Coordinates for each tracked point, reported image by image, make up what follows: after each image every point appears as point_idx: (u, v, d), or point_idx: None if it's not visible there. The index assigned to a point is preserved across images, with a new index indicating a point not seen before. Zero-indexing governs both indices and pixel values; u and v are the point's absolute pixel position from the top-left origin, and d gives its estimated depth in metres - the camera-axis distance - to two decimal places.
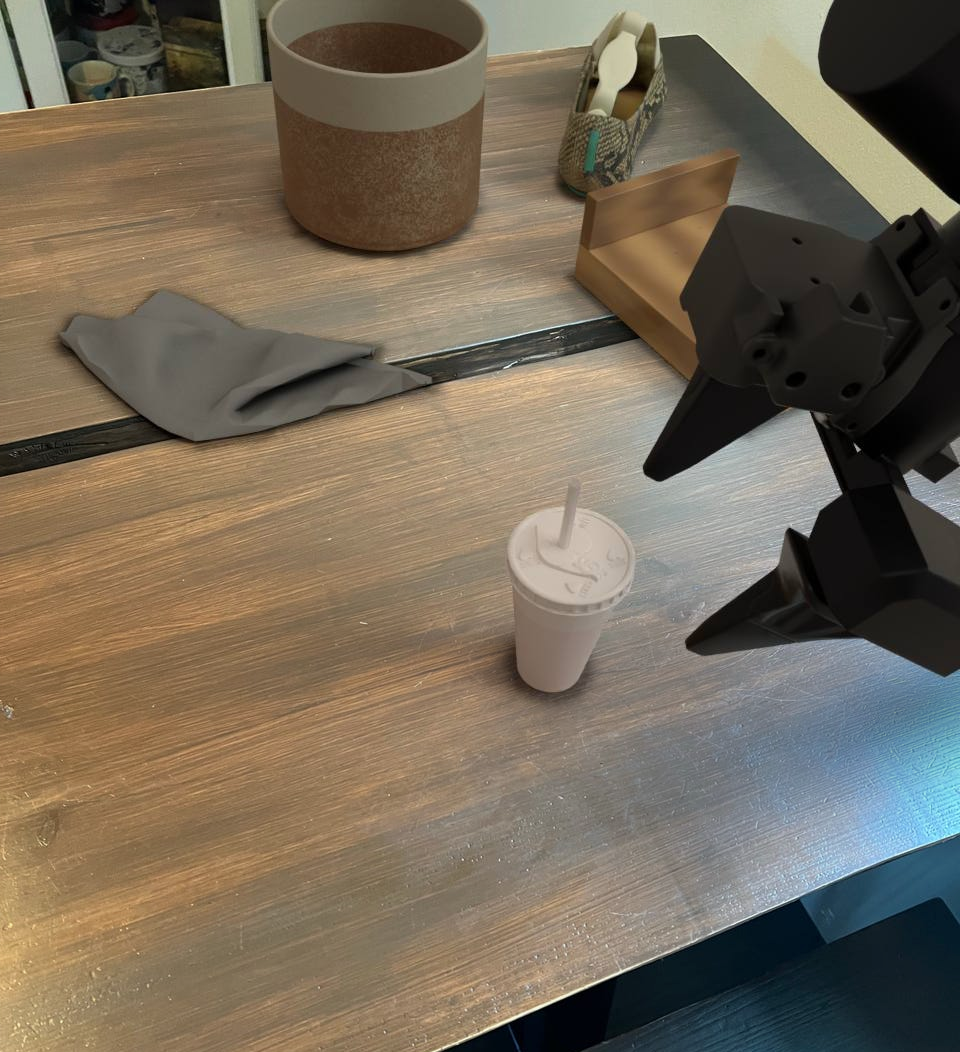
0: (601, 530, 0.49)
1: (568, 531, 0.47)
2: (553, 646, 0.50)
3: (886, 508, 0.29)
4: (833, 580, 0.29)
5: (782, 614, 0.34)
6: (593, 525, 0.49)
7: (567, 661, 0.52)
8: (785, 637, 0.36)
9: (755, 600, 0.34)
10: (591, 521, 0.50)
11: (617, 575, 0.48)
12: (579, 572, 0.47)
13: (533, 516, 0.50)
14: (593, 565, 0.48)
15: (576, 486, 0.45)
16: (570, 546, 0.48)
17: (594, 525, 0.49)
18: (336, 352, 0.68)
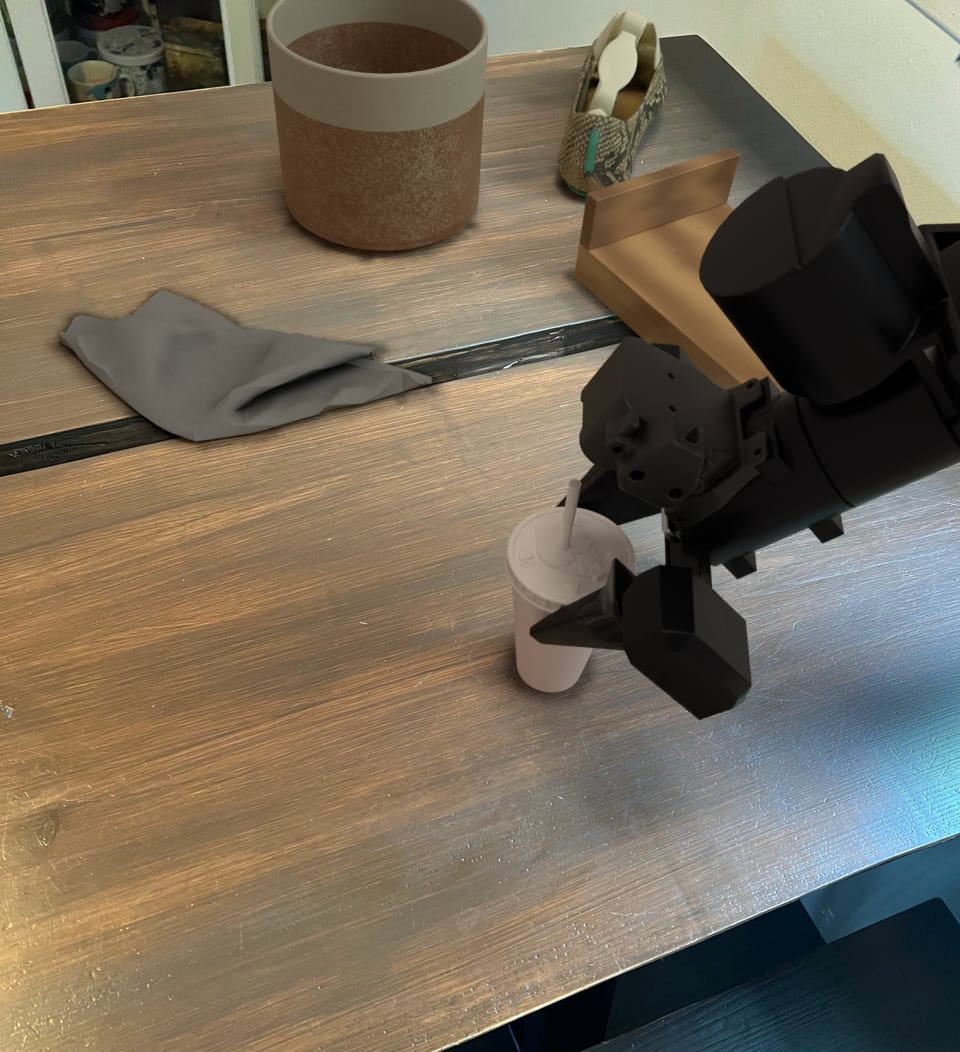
0: (601, 530, 0.49)
1: (568, 531, 0.47)
2: (552, 646, 0.50)
3: (681, 584, 0.40)
4: (631, 626, 0.40)
5: (601, 623, 0.45)
6: (593, 525, 0.49)
7: (567, 661, 0.52)
8: (601, 642, 0.47)
9: (583, 607, 0.45)
10: (591, 522, 0.50)
11: None
12: (579, 572, 0.47)
13: (533, 516, 0.50)
14: (593, 565, 0.48)
15: (576, 486, 0.45)
16: (570, 546, 0.48)
17: (594, 525, 0.49)
18: (336, 352, 0.68)
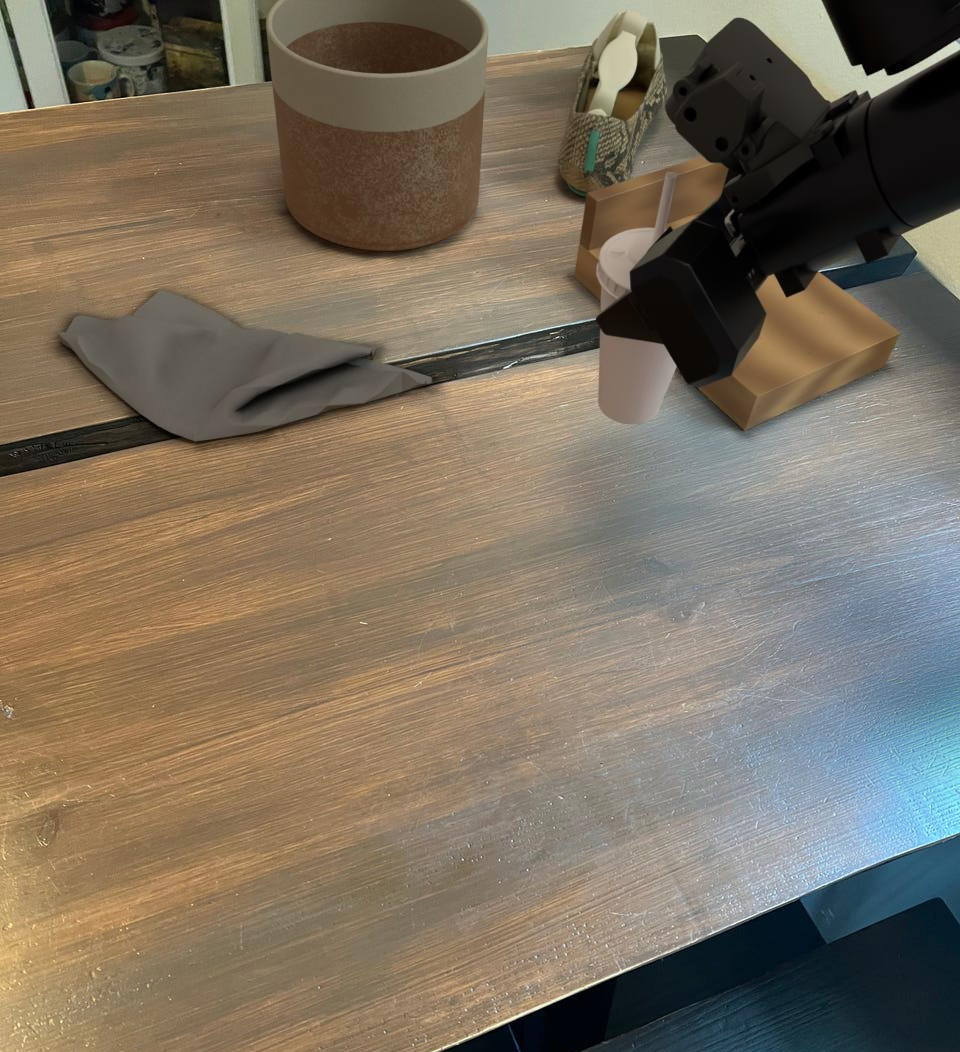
0: None
1: (658, 233, 0.51)
2: (619, 352, 0.55)
3: (703, 235, 0.43)
4: (644, 258, 0.43)
5: None
6: None
7: (632, 379, 0.56)
8: (648, 332, 0.50)
9: None
10: None
11: None
12: None
13: (643, 229, 0.54)
14: None
15: (670, 177, 0.49)
16: None
17: None
18: (336, 352, 0.68)
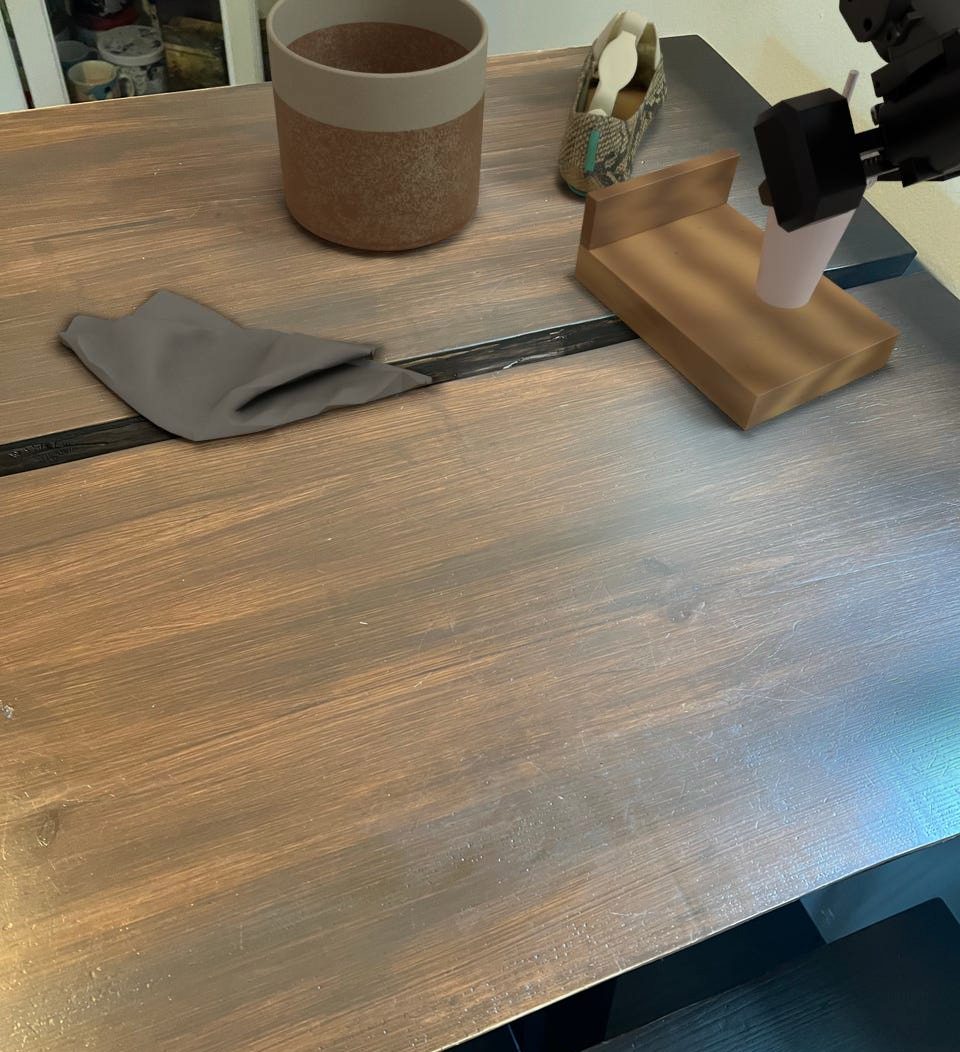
0: None
1: None
2: (774, 228, 0.63)
3: (827, 98, 0.51)
4: None
5: None
6: None
7: (780, 257, 0.64)
8: None
9: None
10: None
11: None
12: None
13: None
14: None
15: (852, 73, 0.57)
16: None
17: None
18: (336, 352, 0.68)
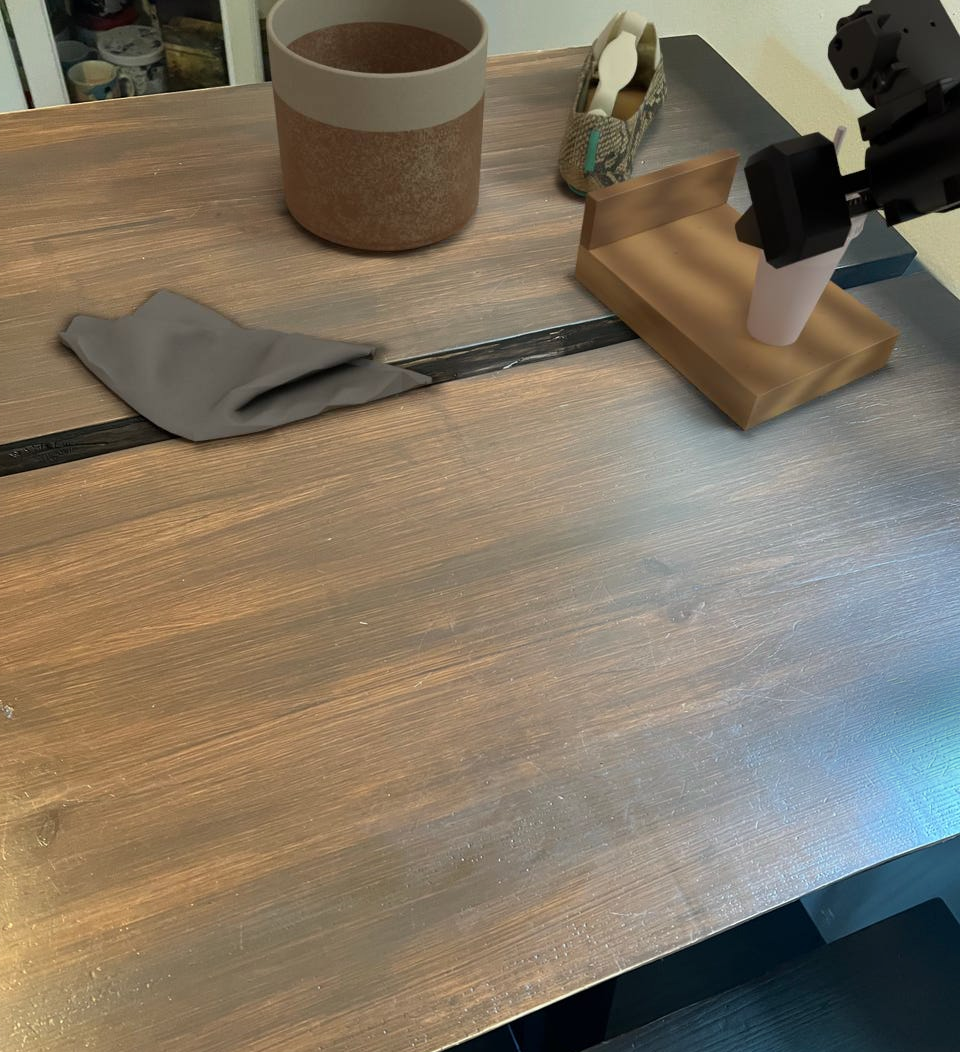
0: None
1: None
2: (764, 270, 0.66)
3: (815, 142, 0.53)
4: None
5: None
6: None
7: (769, 298, 0.66)
8: None
9: None
10: None
11: None
12: None
13: None
14: None
15: (840, 129, 0.59)
16: None
17: None
18: (336, 352, 0.68)
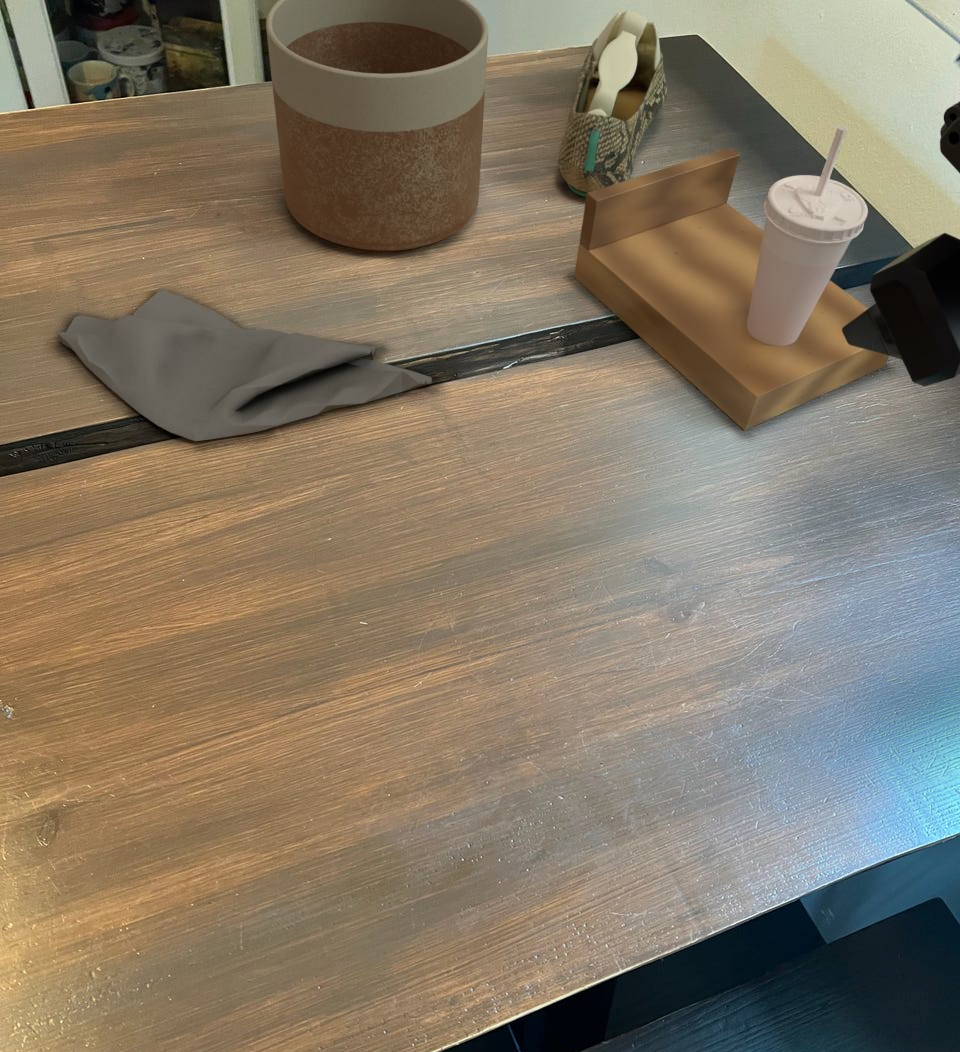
0: (853, 207, 0.62)
1: (823, 177, 0.62)
2: (764, 270, 0.66)
3: (948, 247, 0.47)
4: (889, 264, 0.49)
5: None
6: (852, 203, 0.63)
7: (769, 298, 0.66)
8: (884, 345, 0.54)
9: None
10: (854, 202, 0.63)
11: (828, 224, 0.61)
12: (807, 208, 0.62)
13: None
14: (820, 210, 0.62)
15: (840, 129, 0.59)
16: (821, 197, 0.63)
17: (853, 204, 0.63)
18: (336, 352, 0.68)
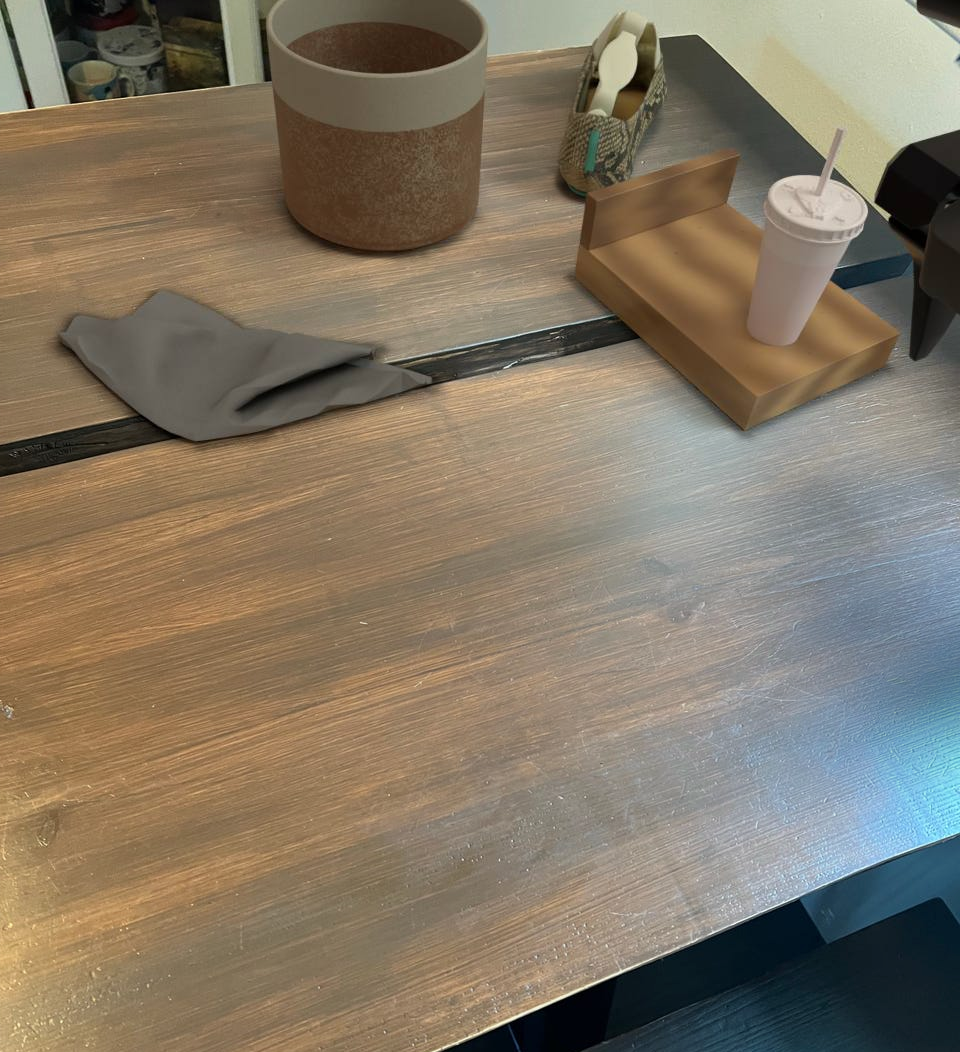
0: (853, 207, 0.62)
1: (823, 177, 0.62)
2: (764, 270, 0.66)
3: None
4: None
5: None
6: (852, 203, 0.63)
7: (769, 298, 0.66)
8: None
9: None
10: (854, 202, 0.63)
11: (828, 224, 0.61)
12: (807, 208, 0.62)
13: None
14: (820, 210, 0.62)
15: (840, 129, 0.59)
16: (821, 197, 0.63)
17: (853, 204, 0.63)
18: (336, 352, 0.68)
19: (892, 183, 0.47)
